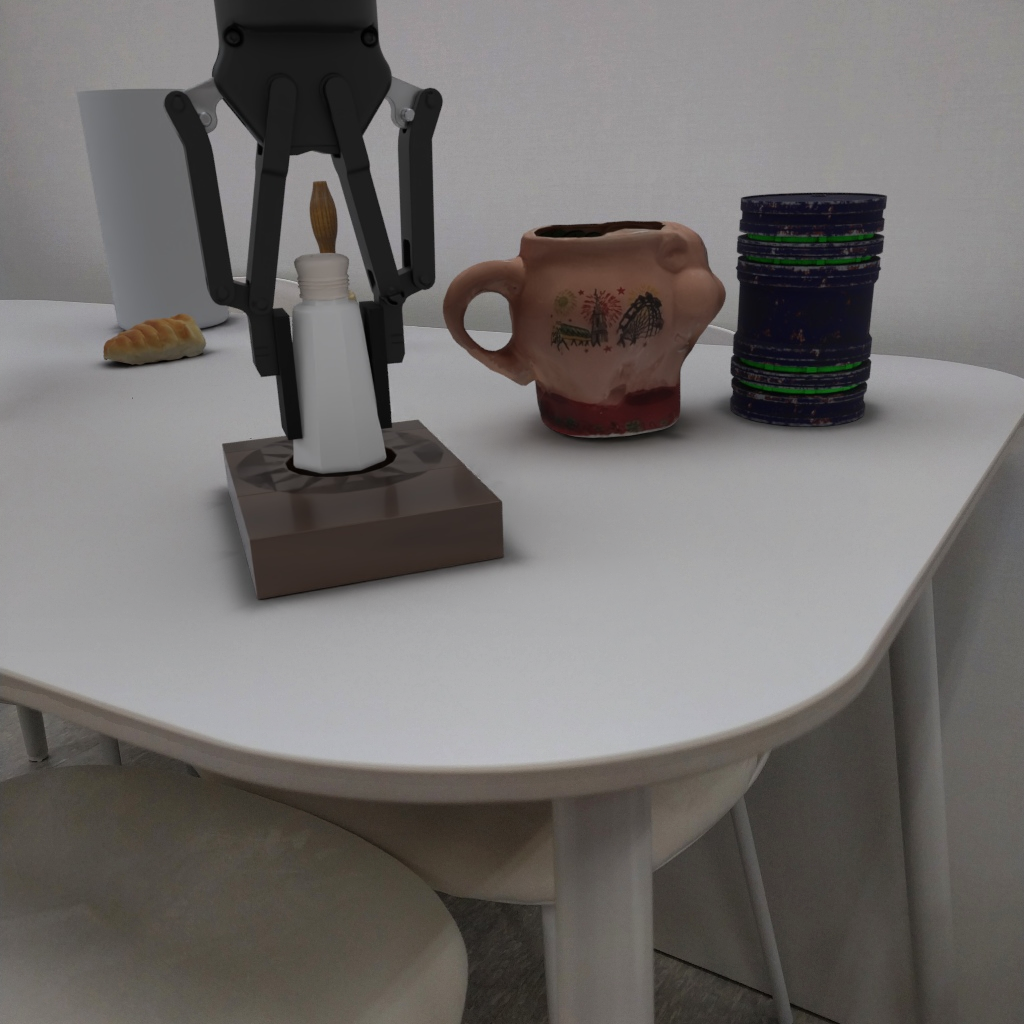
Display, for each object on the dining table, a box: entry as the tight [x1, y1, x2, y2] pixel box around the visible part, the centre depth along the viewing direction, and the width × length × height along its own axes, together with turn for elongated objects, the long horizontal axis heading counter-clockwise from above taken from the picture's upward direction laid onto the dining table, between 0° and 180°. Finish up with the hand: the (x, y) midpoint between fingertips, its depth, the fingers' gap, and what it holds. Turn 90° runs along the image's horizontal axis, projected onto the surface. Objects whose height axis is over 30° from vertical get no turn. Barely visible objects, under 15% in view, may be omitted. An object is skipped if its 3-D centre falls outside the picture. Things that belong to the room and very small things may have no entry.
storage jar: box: [729, 191, 888, 427], centre depth 69 cm, size 10×10×15 cm
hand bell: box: [309, 180, 358, 302], centre depth 95 cm, size 8×8×16 cm
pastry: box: [103, 314, 207, 366], centre depth 95 cm, size 9×7×4 cm
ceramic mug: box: [442, 220, 727, 439], centre depth 66 cm, size 20×12×14 cm, turn 113°
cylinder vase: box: [76, 88, 230, 331], centre depth 109 cm, size 12×12×25 cm
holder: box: [221, 419, 505, 600], centre depth 53 cm, size 16×12×3 cm
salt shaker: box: [291, 252, 386, 474], centre depth 52 cm, size 5×5×11 cm
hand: (336, 426), depth 53 cm, fingers closed on salt shaker, 4 cm apart
